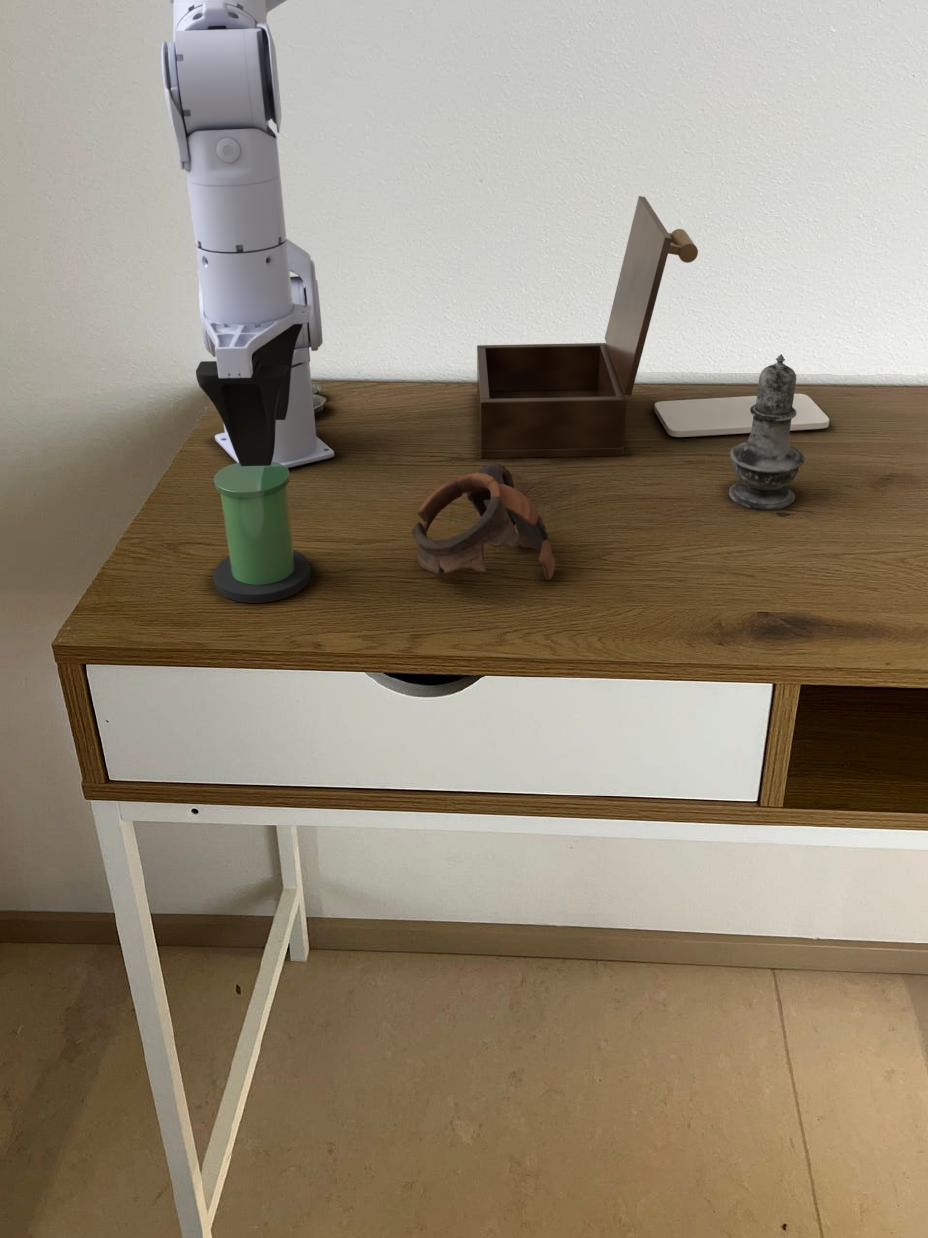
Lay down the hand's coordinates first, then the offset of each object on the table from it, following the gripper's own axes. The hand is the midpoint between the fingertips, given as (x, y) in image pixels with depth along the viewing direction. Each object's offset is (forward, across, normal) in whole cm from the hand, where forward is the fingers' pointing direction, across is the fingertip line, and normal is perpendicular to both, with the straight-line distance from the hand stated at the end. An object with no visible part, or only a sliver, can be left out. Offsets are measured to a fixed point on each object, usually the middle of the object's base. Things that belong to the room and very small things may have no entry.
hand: (264, 440), depth 80 cm
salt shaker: (+10, +11, -38) cm, 41 cm away
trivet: (+10, -2, +1) cm, 10 cm away
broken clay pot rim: (+10, 0, -16) cm, 19 cm away
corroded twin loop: (+10, +32, +2) cm, 33 cm away
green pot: (+10, -2, +1) cm, 10 cm away
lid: (-2, +26, -29) cm, 39 cm away
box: (+10, +26, -22) cm, 35 cm away
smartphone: (+10, +26, -40) cm, 49 cm away
